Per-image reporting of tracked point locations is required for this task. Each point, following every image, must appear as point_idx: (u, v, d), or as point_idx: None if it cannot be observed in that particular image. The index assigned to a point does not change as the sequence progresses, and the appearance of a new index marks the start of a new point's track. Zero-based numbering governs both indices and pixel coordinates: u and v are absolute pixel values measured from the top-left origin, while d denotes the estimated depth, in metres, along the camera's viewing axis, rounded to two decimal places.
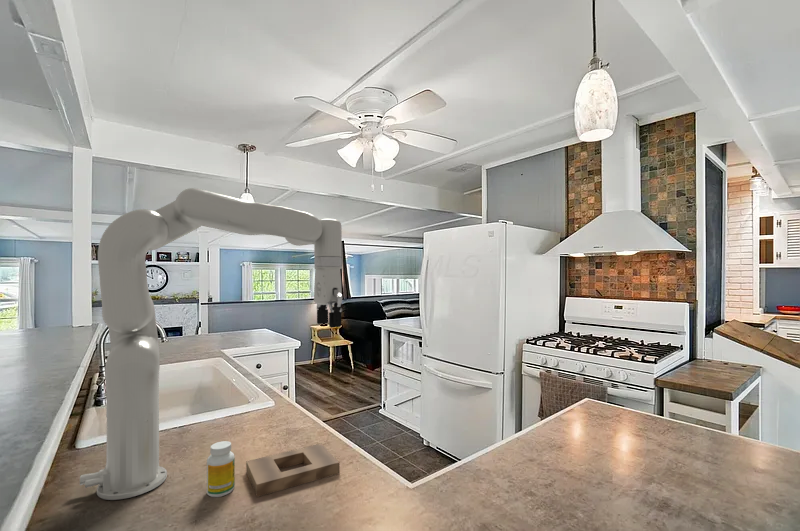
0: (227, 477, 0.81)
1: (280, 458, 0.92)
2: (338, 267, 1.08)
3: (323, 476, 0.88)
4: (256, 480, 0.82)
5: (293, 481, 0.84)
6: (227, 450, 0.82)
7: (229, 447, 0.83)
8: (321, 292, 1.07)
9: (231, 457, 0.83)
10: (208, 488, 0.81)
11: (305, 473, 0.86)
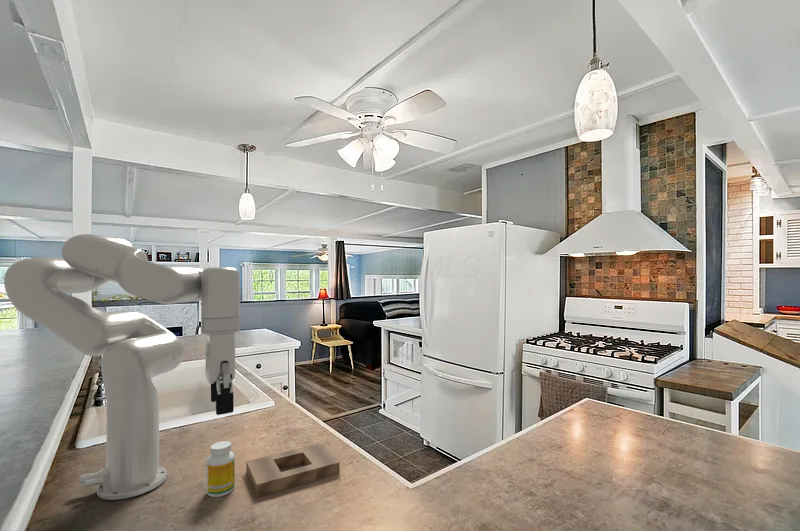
0: (227, 477, 0.81)
1: (280, 458, 0.92)
2: (232, 331, 0.82)
3: (323, 476, 0.88)
4: (256, 480, 0.82)
5: (293, 481, 0.84)
6: (227, 450, 0.82)
7: (229, 447, 0.83)
8: (207, 366, 0.80)
9: (231, 457, 0.83)
10: (208, 488, 0.81)
11: (305, 473, 0.86)
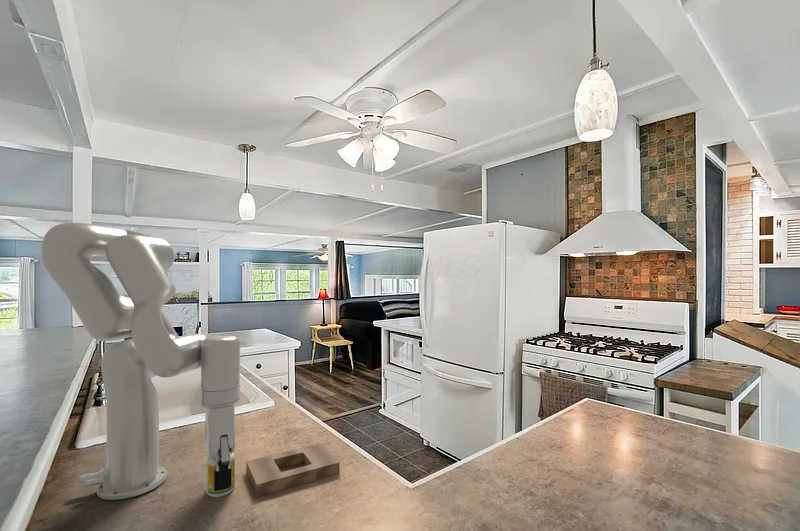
0: None
1: (280, 458, 0.92)
2: (231, 403, 0.82)
3: (323, 476, 0.88)
4: (256, 480, 0.82)
5: (293, 481, 0.84)
6: None
7: None
8: (207, 439, 0.80)
9: (231, 457, 0.83)
10: (208, 488, 0.81)
11: (305, 473, 0.86)
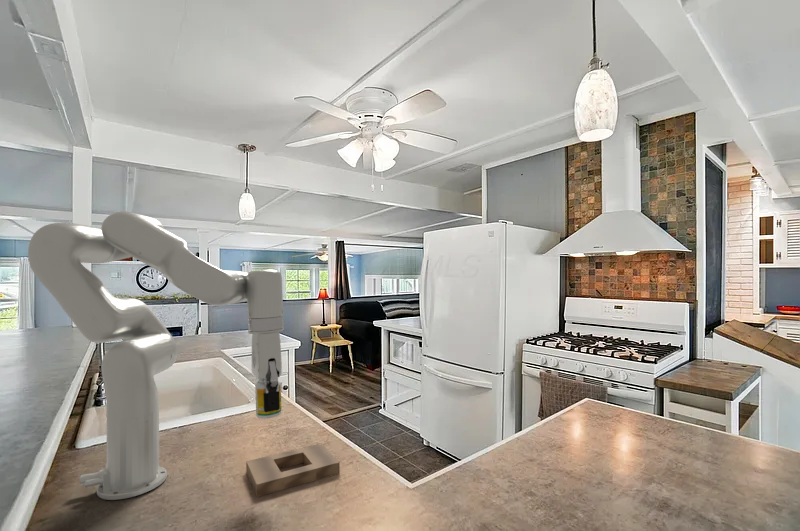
0: None
1: (280, 458, 0.92)
2: (277, 330, 0.86)
3: (323, 476, 0.88)
4: (256, 480, 0.82)
5: (293, 481, 0.84)
6: None
7: None
8: (255, 363, 0.85)
9: (278, 382, 0.87)
10: (258, 410, 0.86)
11: (305, 473, 0.86)
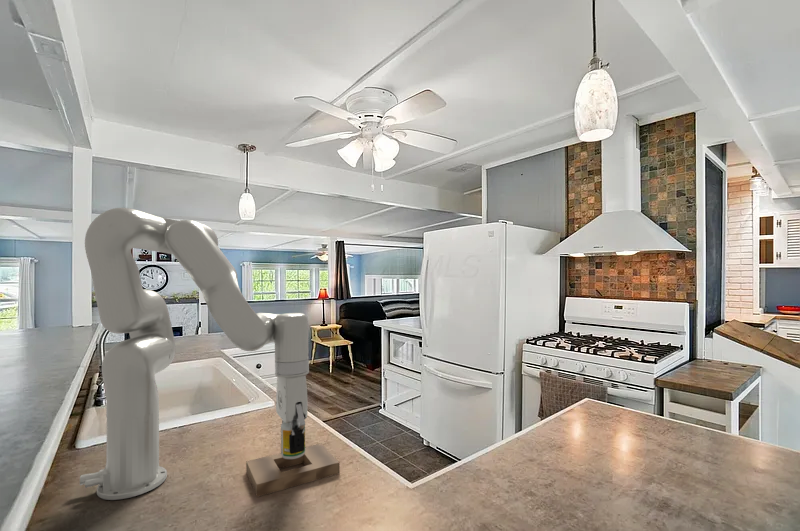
0: None
1: (280, 458, 0.92)
2: (303, 373, 0.89)
3: (323, 476, 0.88)
4: (256, 480, 0.82)
5: (293, 481, 0.84)
6: None
7: None
8: (282, 406, 0.87)
9: None
10: (283, 451, 0.88)
11: (305, 473, 0.86)
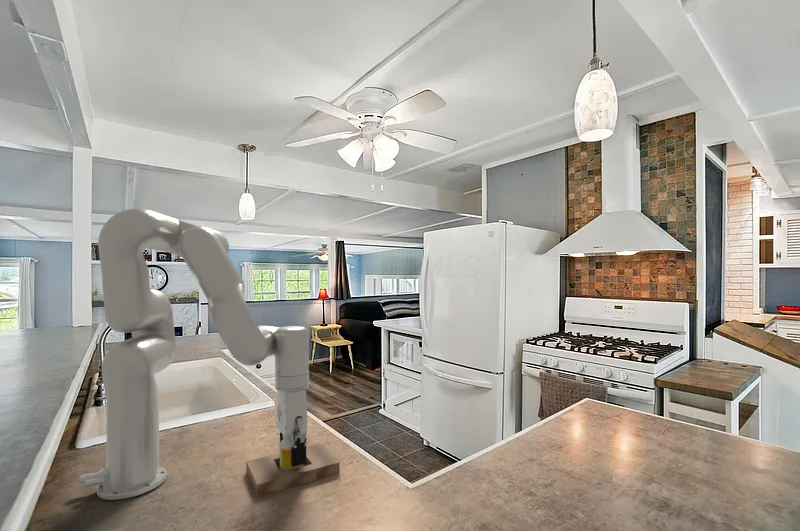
0: None
1: None
2: (303, 387, 0.89)
3: (323, 476, 0.88)
4: (256, 480, 0.82)
5: (293, 481, 0.84)
6: (298, 436, 0.89)
7: None
8: (282, 420, 0.87)
9: None
10: (282, 470, 0.88)
11: (305, 473, 0.86)
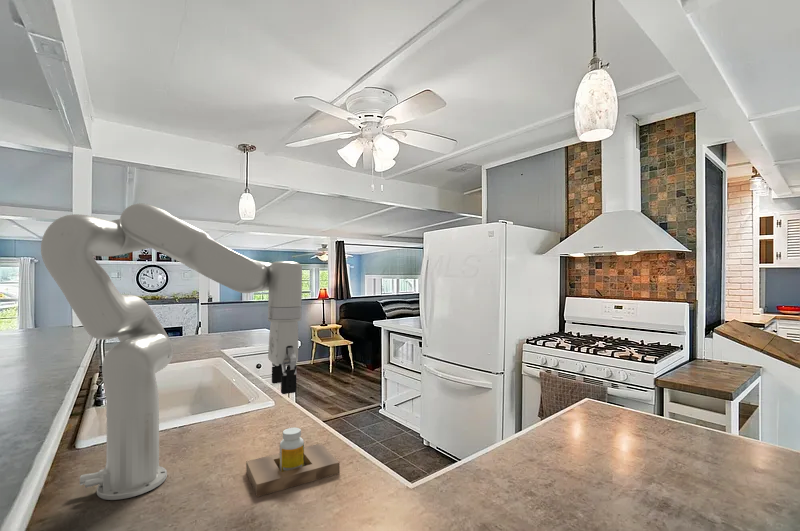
0: (299, 460, 0.89)
1: None
2: (295, 320, 0.91)
3: (323, 476, 0.88)
4: (256, 480, 0.82)
5: (293, 481, 0.84)
6: (298, 436, 0.89)
7: (300, 433, 0.90)
8: (273, 350, 0.89)
9: (301, 442, 0.90)
10: (282, 470, 0.88)
11: (305, 473, 0.86)
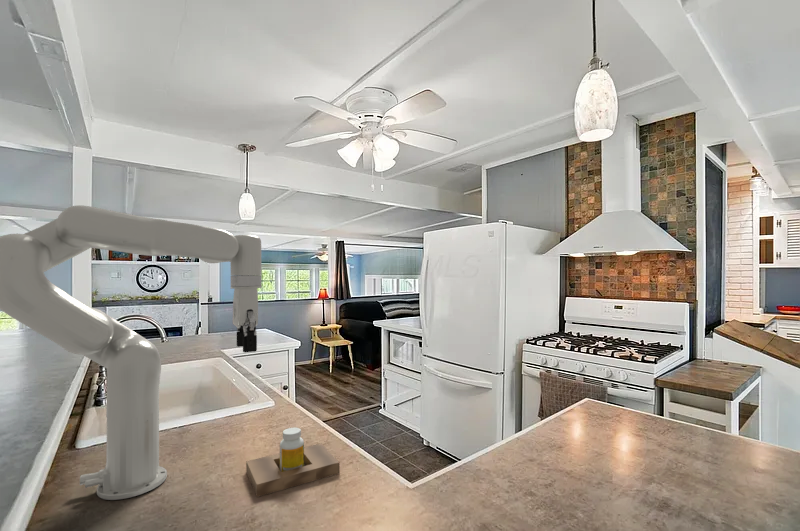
0: (299, 460, 0.89)
1: None
2: (255, 287, 1.01)
3: (323, 476, 0.88)
4: (256, 480, 0.82)
5: (293, 481, 0.84)
6: (298, 436, 0.89)
7: (300, 433, 0.90)
8: (236, 314, 0.99)
9: (301, 442, 0.90)
10: (282, 470, 0.88)
11: (305, 473, 0.86)
